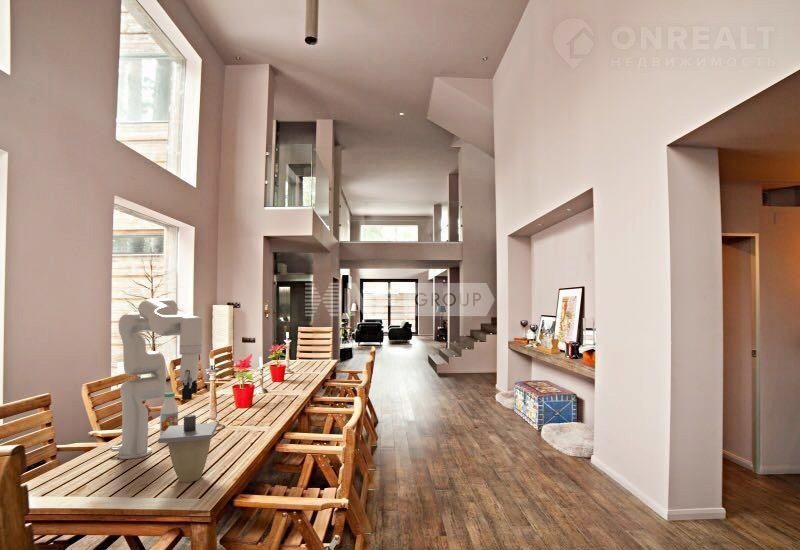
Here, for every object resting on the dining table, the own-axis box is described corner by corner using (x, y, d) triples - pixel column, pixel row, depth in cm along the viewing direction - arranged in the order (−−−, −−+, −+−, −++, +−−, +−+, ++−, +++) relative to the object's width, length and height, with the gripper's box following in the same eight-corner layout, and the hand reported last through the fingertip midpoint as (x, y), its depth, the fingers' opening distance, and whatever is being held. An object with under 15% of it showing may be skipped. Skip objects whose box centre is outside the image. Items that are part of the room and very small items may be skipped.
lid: (158, 443, 160) (158, 424, 161) (169, 429, 177) (169, 412, 177) (211, 439, 165) (211, 420, 165) (217, 426, 181) (217, 409, 181)
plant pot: (190, 469, 180) (190, 427, 180) (220, 474, 174) (220, 430, 175) (156, 483, 166) (157, 437, 167) (188, 489, 160) (188, 442, 161)
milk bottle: (156, 436, 224) (156, 393, 225) (169, 431, 231) (170, 390, 232) (168, 437, 221) (168, 395, 222) (181, 433, 228) (181, 391, 229)
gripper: (184, 347, 180) (183, 392, 179) (174, 353, 163) (173, 402, 162) (205, 346, 182) (204, 391, 181) (197, 352, 165) (196, 401, 164)
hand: (189, 396), depth 172 cm, fingers open, 9 cm apart
